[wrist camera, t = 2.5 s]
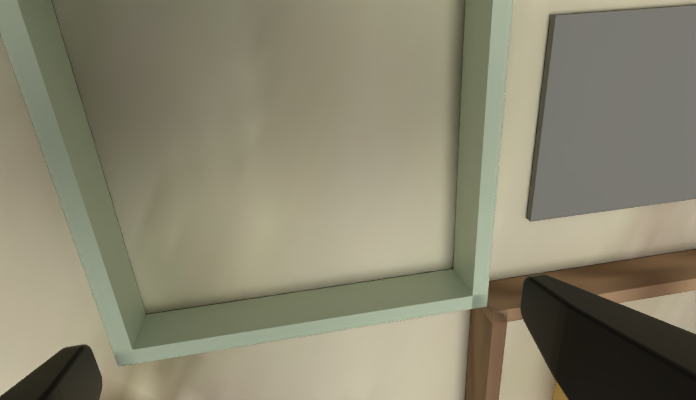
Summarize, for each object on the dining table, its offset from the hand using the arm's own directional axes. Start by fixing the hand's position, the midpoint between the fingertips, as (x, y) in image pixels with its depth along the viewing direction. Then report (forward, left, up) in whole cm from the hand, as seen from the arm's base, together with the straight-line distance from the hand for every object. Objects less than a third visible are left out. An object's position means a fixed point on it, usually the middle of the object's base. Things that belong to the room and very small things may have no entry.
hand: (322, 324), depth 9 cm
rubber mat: (+17, 0, -12) cm, 21 cm away
